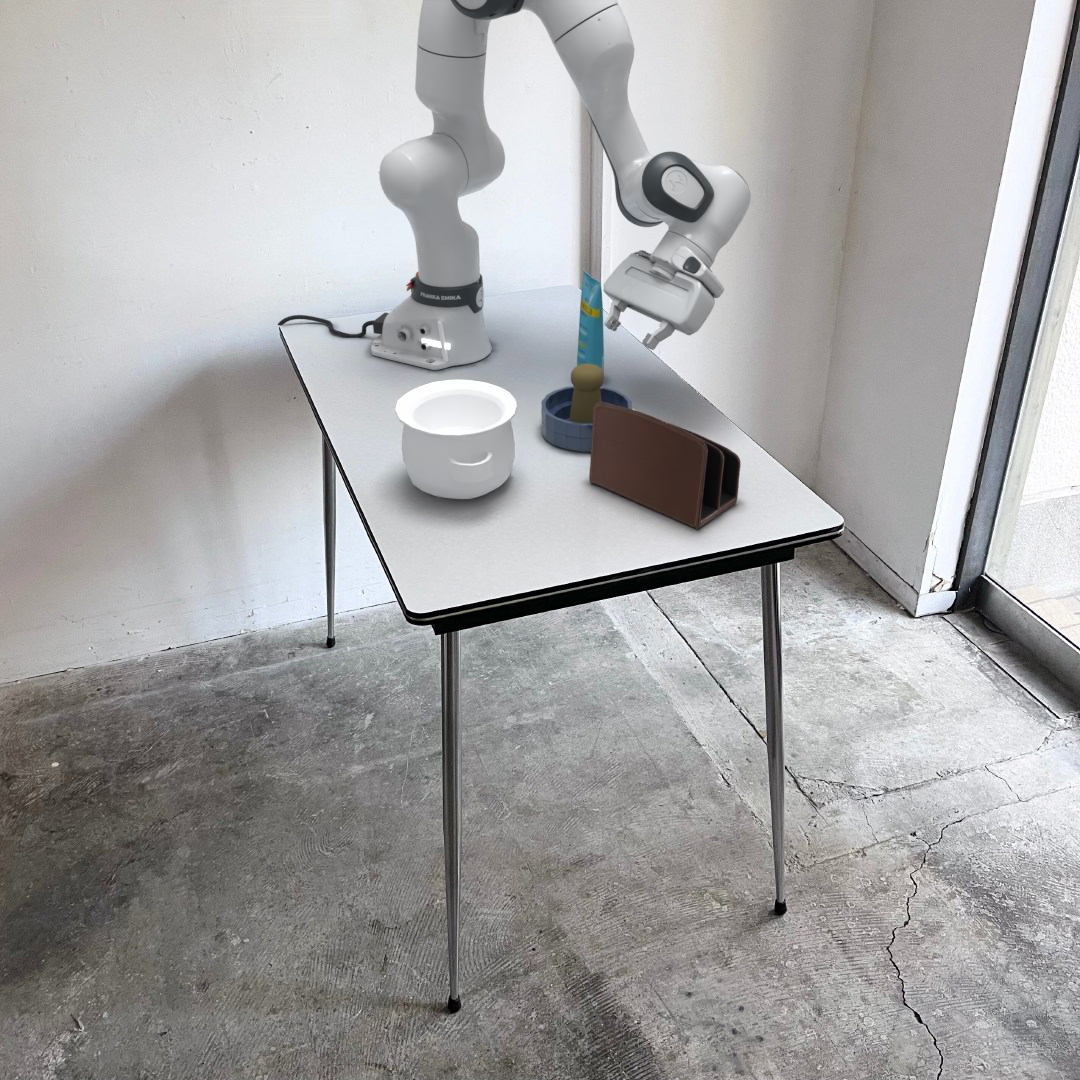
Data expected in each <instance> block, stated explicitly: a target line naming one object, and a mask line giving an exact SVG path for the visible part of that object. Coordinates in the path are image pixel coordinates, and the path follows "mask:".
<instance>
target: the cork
mask: <svg viewBox="0 0 1080 1080" xmlns="http://www.w3.org/2000/svg"><path fill="white" fill-rule="evenodd" d="M604 381H605V372H604V373H603V371H602V369H601V368H600V367H599V366H597V365H594V364H580V365H578V366H577V365H576V366H574V367H573V369H572V370H571V373H570V382H571V384H572V386H574V392H573V398H572V405H571V411H570V418H569V421H571V422H578V423H593V408H594V405H595V404H596V403H599V402H600V403H602V399H601V390H600V387H601V386H603V384H604Z"/></svg>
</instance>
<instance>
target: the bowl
mask: <svg viewBox="0 0 1080 1080" xmlns="http://www.w3.org/2000/svg"><path fill="white" fill-rule="evenodd" d="M600 390H601V399H602V403H608V404H612V405H617V406H621V407H625V408H629V409H632V410H634V409H633V401H632V400H631V398H630V397H628V395H627V394H625V393H623V392H621V391H619V390H618V389H614V388H611V387H607V386H603V385H601V387H600ZM573 392H574V386H573V385H570V386H564V387H561V388H558V389H554V390H553V391H551V392H549V393H548V394H545V396H544V397H543V399H541V406H540V407H541V415H540V416H541V434H542V436H543V437H544V439H545V440H546V441H547V442H549V443H550V444H552V445H554V446H555V447H556V446H557V447H560V448H563V449H565V450H568V451H569V450H570V451H577V452H591V439H592V427H593V423H578V422H571V421H569V418H570V411H571V405H572V398H573Z"/></svg>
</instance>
